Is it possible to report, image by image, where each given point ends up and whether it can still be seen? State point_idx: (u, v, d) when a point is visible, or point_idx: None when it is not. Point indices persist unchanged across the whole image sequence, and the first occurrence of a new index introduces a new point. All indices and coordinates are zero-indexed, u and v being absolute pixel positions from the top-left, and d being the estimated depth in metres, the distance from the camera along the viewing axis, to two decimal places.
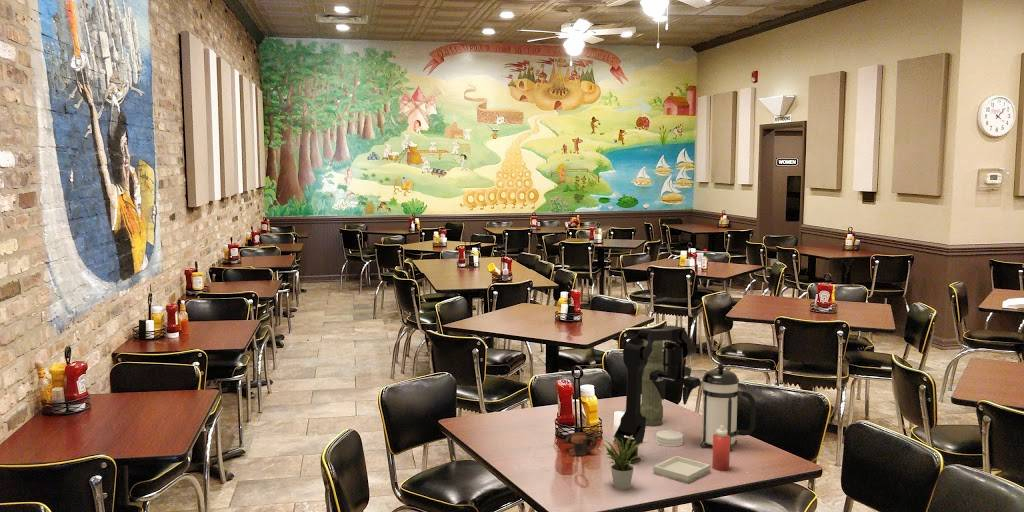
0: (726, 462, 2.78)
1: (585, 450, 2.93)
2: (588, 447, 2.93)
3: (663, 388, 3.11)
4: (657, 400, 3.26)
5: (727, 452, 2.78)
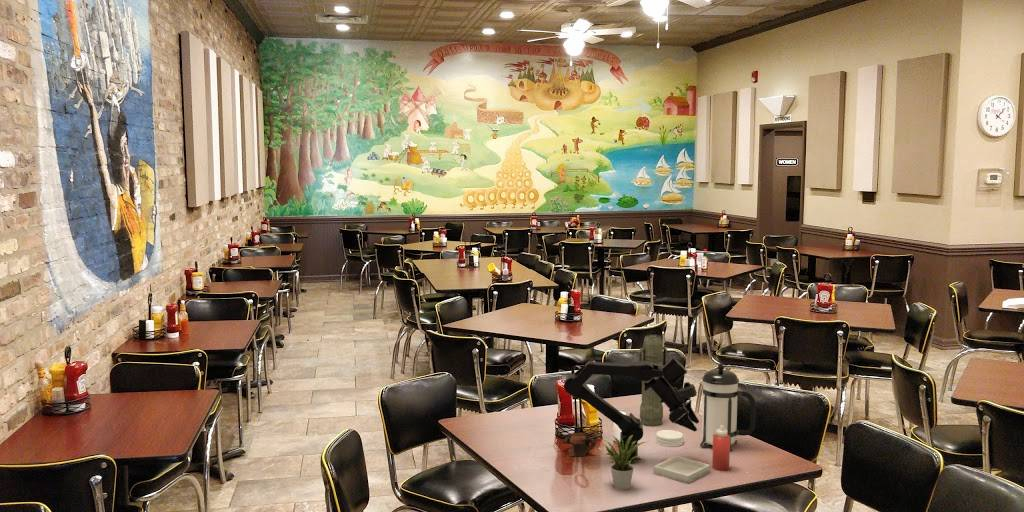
0: (726, 462, 2.78)
1: (584, 450, 2.92)
2: (587, 447, 2.93)
3: (690, 412, 2.87)
4: (657, 400, 3.26)
5: (727, 452, 2.78)
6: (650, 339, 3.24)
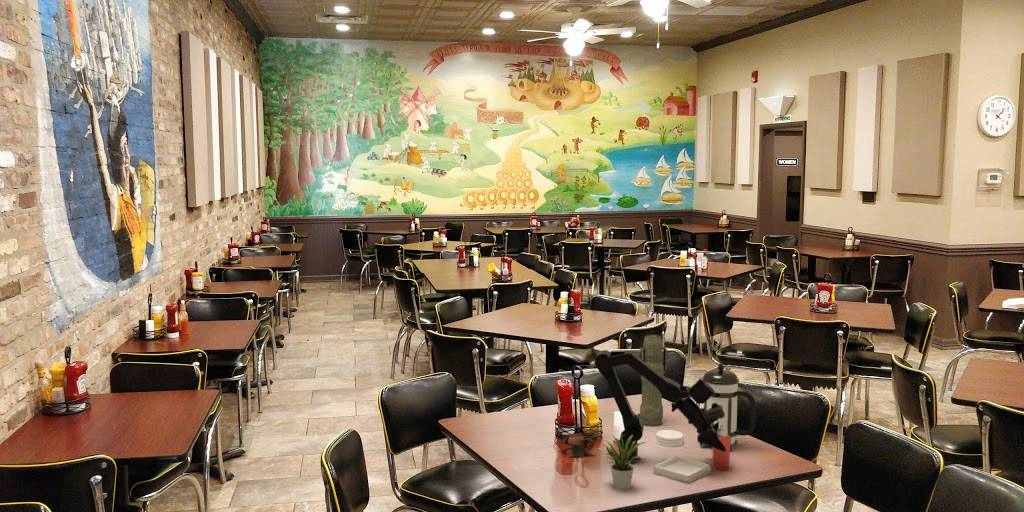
0: (726, 462, 2.78)
1: (583, 451, 2.92)
2: (585, 448, 2.92)
3: None
4: (657, 400, 3.26)
5: (727, 452, 2.78)
6: (650, 339, 3.24)
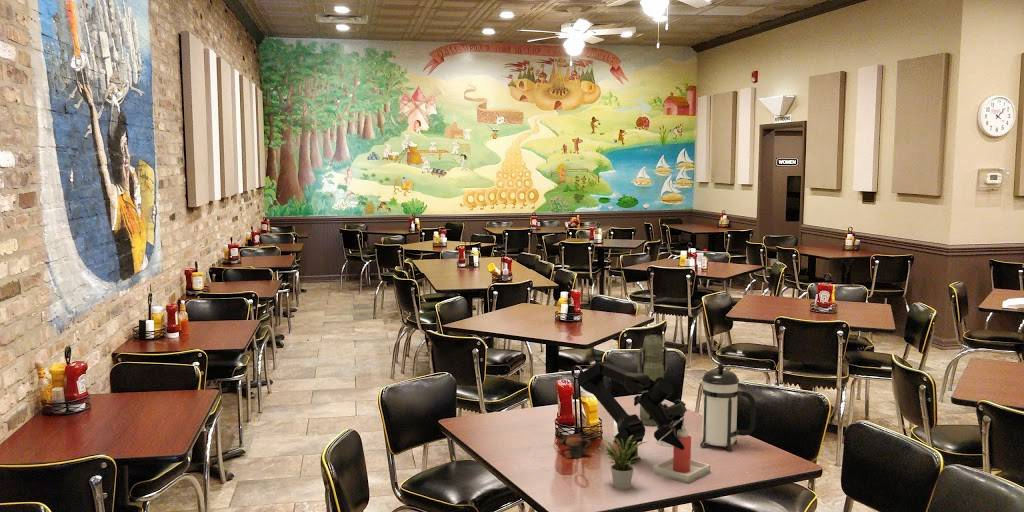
0: (686, 463, 2.73)
1: (580, 452, 2.91)
2: (583, 449, 2.91)
3: None
4: None
5: (687, 453, 2.73)
6: (650, 339, 3.24)
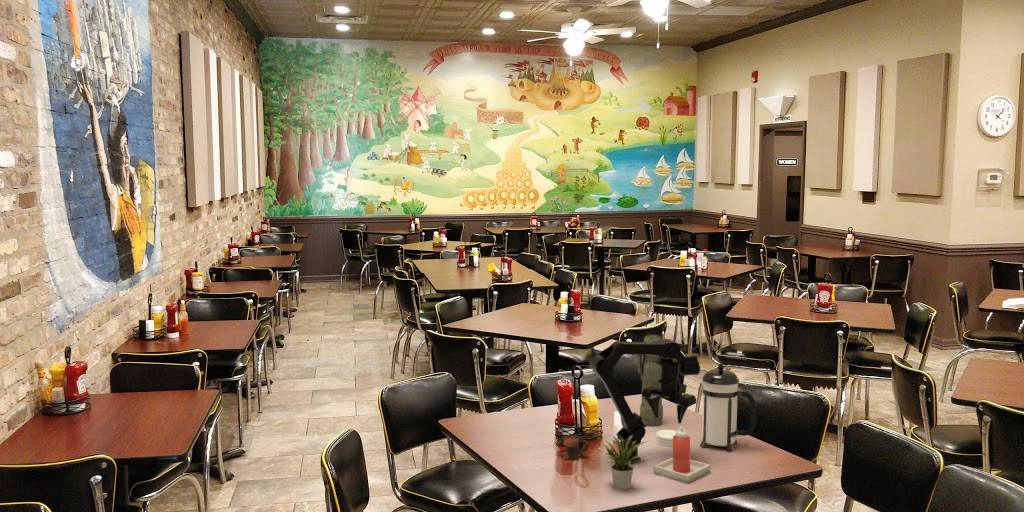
0: (685, 464, 2.73)
1: (578, 453, 2.90)
2: (581, 450, 2.90)
3: (657, 405, 2.93)
4: None
5: (686, 454, 2.73)
6: (650, 339, 3.24)
